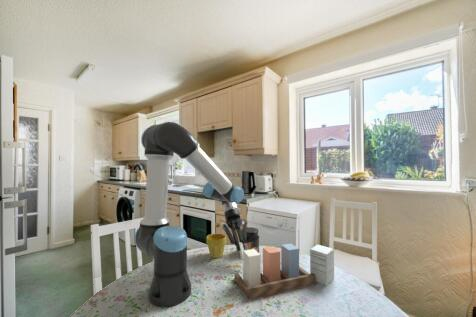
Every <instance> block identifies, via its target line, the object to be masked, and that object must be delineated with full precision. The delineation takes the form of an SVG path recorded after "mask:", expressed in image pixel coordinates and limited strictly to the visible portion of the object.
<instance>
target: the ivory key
mask: <svg viewBox="0 0 476 317" xmlns="http://www.w3.org/2000/svg"><path fill="white" fill-rule="evenodd" d="M261 255H262V254H260V253H258V252H257V251H256V250H255V249H251V250H244V251H243V259H242V279H243V281H244V282H245V283H246V285H247V286H248V287H251V286H256V285H260V284H262V282H261V273H262V271H261Z"/></svg>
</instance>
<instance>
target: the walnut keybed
mask: <svg viewBox="0 0 476 317" xmlns="http://www.w3.org/2000/svg"><path fill="white" fill-rule="evenodd" d="M280 278H281V280H279V281H274V282H269V281H268V280H267V279H266V278H265V277H264V276H263V272H261V284H260V285H256V286H251V287H248V286H247V285H246V283H245V282H244V280H243V277H242V276H241V275H240V273H239V272H235V273H234V280H235V281H236V283H237V286H238V287H239V288H240V290H241V291H242V294H244V296H245V298H246V299H247V300H250V301H251V300H253V299H258V298H262V297H267V296H271V295H274V294H275V295H276V294H278V293H279V294H280V293H283V292H288V291H292V290H296V289H300V288H305V287H310V286H313V285H316V281H315V274H314V273H312V274H310V273H309V272H308V271H306V269H303V268H302V267H301V266H300V265H299V276H298V277H293V278H289V277H288V276H287V275H286V274H285V273H283V272H282V271H281V269H280Z"/></svg>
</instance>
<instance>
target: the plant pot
mask: <svg viewBox="0 0 476 317" xmlns="http://www.w3.org/2000/svg"><path fill="white" fill-rule="evenodd" d="M205 241H206V246H207V247H208V248H207V249H208V251H209V256H210V257H211V258H214V259H219V258H222V257H224V256H223V255H224V250H225V246H226V244H227V235H226V234H223V233H211V234H208V235H207V236H206V240H205Z"/></svg>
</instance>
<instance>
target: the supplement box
mask: <svg viewBox="0 0 476 317" xmlns="http://www.w3.org/2000/svg"><path fill="white" fill-rule="evenodd" d="M309 258H310V259H309V262H310V263H309V267H310V268H309V272H310V273H309V274H312V273H314V274H315V282H318V283H319V284H323V285H325V286H328V285H330V283H332V282H333V280H335V249H334V248H332V247H329V246H328V247H327V246H324V245H321V244H316V245H315V246H312V248H310V250H309Z"/></svg>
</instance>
